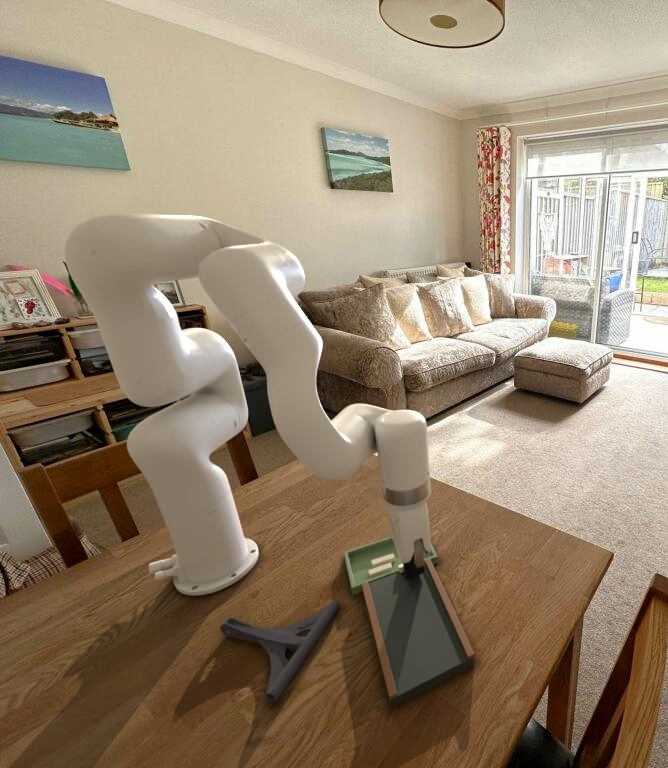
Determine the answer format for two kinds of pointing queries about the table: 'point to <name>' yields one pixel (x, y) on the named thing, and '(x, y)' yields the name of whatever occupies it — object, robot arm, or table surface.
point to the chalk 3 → (400, 568)
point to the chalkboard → (415, 633)
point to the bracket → (282, 644)
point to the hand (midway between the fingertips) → (414, 572)
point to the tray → (363, 555)
